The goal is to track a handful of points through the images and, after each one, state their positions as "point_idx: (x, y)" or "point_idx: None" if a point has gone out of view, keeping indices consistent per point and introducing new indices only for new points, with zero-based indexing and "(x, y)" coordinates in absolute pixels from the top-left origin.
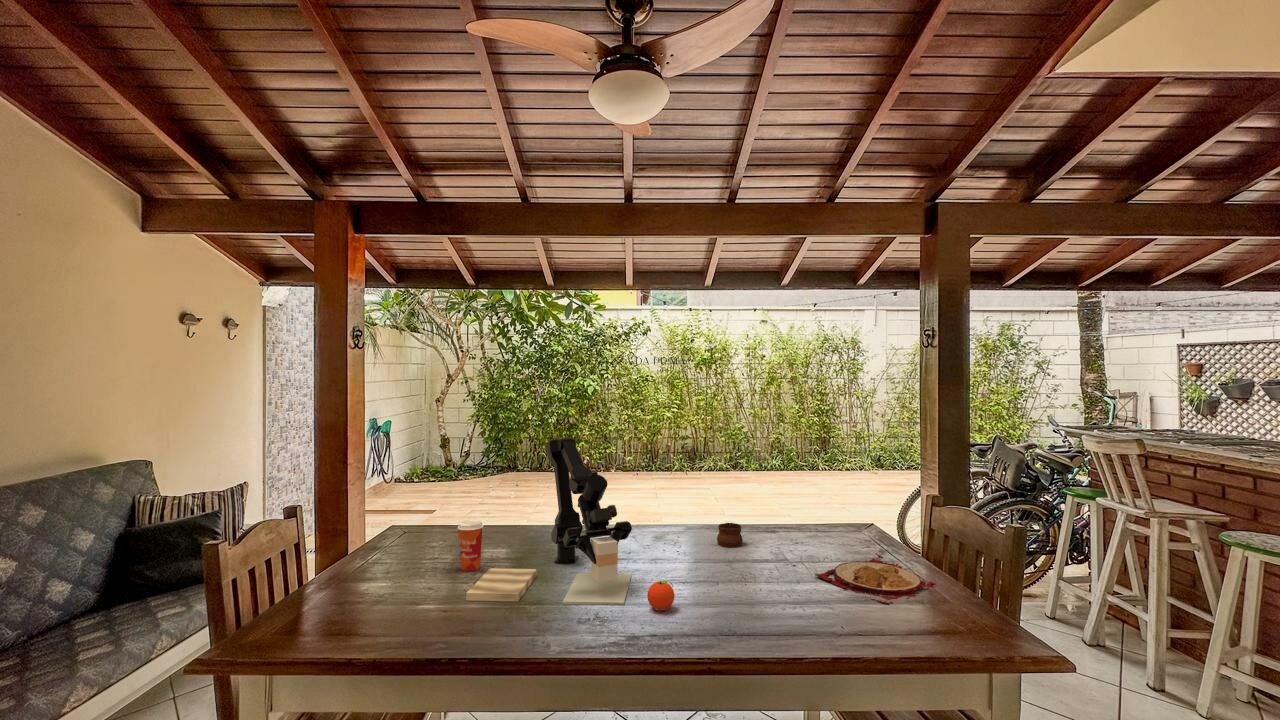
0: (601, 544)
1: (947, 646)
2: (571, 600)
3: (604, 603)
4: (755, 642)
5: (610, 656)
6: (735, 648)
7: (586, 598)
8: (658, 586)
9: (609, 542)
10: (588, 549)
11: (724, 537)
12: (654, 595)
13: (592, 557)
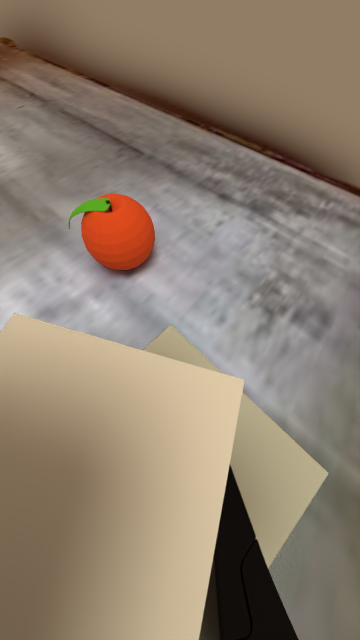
0: (197, 368)
1: (16, 63)
2: (295, 456)
3: (210, 363)
4: (129, 127)
5: (328, 186)
6: (162, 129)
7: (240, 432)
8: (128, 201)
9: (94, 342)
10: (263, 568)
11: None
12: (149, 216)
13: (229, 471)
